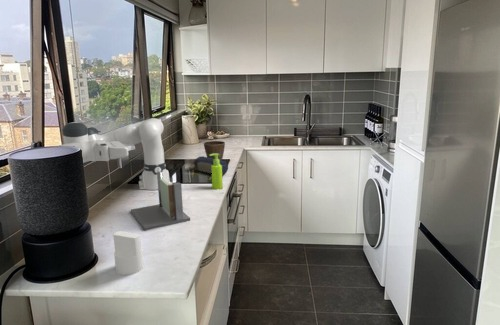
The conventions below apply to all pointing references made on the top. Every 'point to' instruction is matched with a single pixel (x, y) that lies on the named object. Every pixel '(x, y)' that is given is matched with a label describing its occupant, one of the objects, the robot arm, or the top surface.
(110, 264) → the top surface
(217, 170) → the soap dispenser
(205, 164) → the portable speaker
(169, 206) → the gate leaf
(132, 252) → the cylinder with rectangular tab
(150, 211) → the gate frame
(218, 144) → the plant pot
